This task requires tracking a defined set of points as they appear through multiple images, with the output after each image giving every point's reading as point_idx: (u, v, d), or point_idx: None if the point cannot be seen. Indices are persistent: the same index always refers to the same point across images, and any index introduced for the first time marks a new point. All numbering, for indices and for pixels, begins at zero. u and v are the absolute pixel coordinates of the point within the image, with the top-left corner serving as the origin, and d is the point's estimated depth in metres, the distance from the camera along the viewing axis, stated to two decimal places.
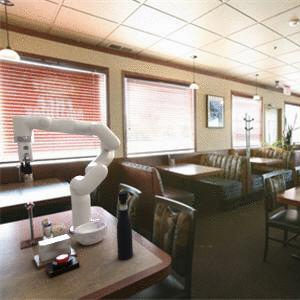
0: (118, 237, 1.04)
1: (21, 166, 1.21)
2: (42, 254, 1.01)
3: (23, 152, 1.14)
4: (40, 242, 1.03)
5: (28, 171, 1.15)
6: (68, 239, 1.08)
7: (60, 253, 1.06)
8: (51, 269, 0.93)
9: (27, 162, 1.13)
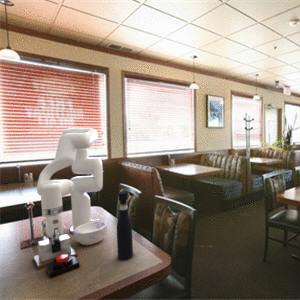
0: (118, 237, 1.04)
1: None
2: (42, 254, 1.01)
3: (52, 227, 1.01)
4: (40, 242, 1.03)
5: (57, 249, 1.03)
6: (68, 239, 1.08)
7: (60, 253, 1.06)
8: (51, 269, 0.93)
9: (56, 240, 1.02)
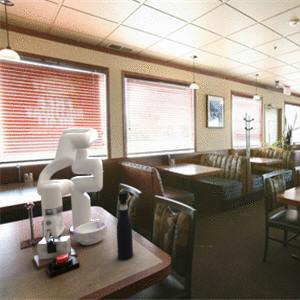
0: (118, 237, 1.04)
1: None
2: (39, 252, 1.02)
3: (45, 228, 1.00)
4: (42, 240, 1.05)
5: (51, 250, 1.02)
6: (64, 242, 1.05)
7: (56, 255, 1.04)
8: (51, 269, 0.93)
9: (47, 242, 1.00)
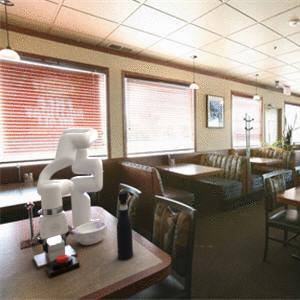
0: (118, 237, 1.04)
1: None
2: None
3: (39, 226, 1.02)
4: None
5: (43, 249, 1.03)
6: (49, 246, 1.01)
7: (48, 256, 1.03)
8: (51, 269, 0.93)
9: None
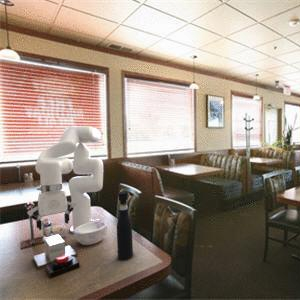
0: (118, 237, 1.04)
1: (64, 215, 1.08)
2: None
3: None
4: (54, 235, 1.10)
5: None
6: (49, 246, 1.01)
7: (48, 256, 1.03)
8: (51, 269, 0.93)
9: (30, 216, 0.98)
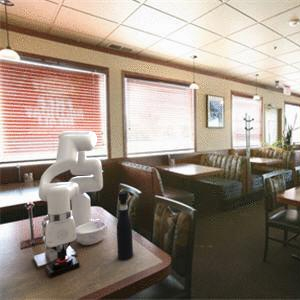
0: (118, 237, 1.04)
1: None
2: None
3: (45, 233, 0.94)
4: None
5: (57, 257, 0.96)
6: None
7: (48, 256, 1.03)
8: (51, 269, 0.93)
9: None
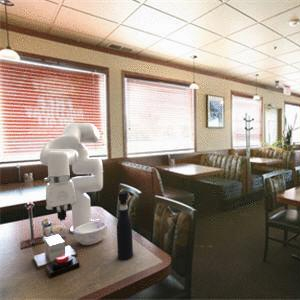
0: (118, 237, 1.04)
1: None
2: None
3: (46, 194, 0.99)
4: (54, 235, 1.10)
5: (58, 217, 1.02)
6: (49, 246, 1.01)
7: (48, 256, 1.03)
8: (51, 269, 0.93)
9: None
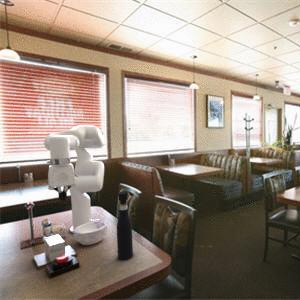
0: (118, 237, 1.04)
1: None
2: None
3: (48, 176, 1.07)
4: (54, 235, 1.10)
5: (59, 197, 1.10)
6: (49, 246, 1.01)
7: (48, 256, 1.03)
8: (51, 269, 0.93)
9: None
